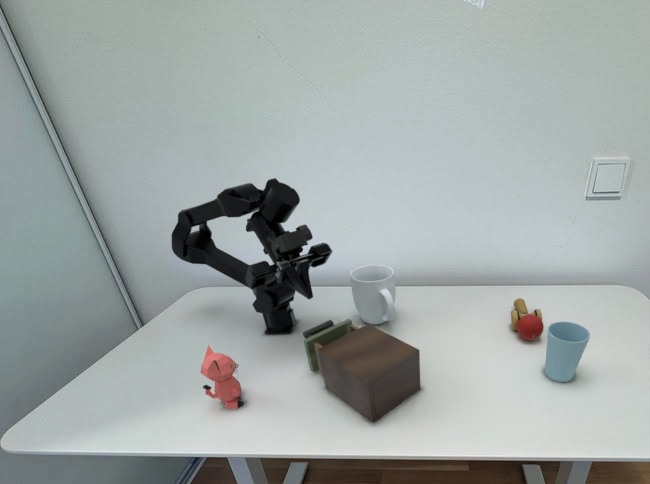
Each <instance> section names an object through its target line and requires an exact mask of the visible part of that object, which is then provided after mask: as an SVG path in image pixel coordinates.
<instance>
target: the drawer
mask: <svg viewBox="0 0 650 484" xmlns="http://www.w3.org/2000/svg"><path fill="white" fill-rule="evenodd" d="M359 328H360V327H359V326H357V325H355V324H353V320H352V319H350V318H346V319H345V320H343V321H341V322H338V323H336V324H335V323H334V321H333V320H332V319H329V320H326V321H325V322H322V323H320V324H318V325H316V326H313V327H311V328H309V329H307V330H305V331H303V332H302V337H303V345H304V349H305V353H306V357H307V362H308V364H309V371H310V372H312V373H316V372H318V371H319V374H321V375H322V376H323V372H322V367H321V362H320V357H319V352H318V349H319V348H321V347H323V346H325V345H327V344H329V343H331V342H333V341H335V340H337V339H339V338H341V337H343V336H345V335H347V334H349V333H351V332H353V331H355V330H357V329H359Z"/></svg>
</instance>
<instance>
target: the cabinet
mask: <svg viewBox="0 0 650 484" xmlns="http://www.w3.org/2000/svg"><path fill="white" fill-rule="evenodd" d="M318 352H319V357H320V362H321V367H322V372H323V375H322V376H323V380H324V385H325V386H324V387H325V389H326V390H328V391H329V392H331V393H332V394H333V395H335V396H336V397H337V398H338V399H340V400H341V401H342V402H344V404H346V405H347V406H349V407H350V408H352V409H353V410H354V411H356V412H357V413H358V414H360V415H361V416H363V418H365V419H366V420H368V421H369V422H371V423H372V424H374V423H375V422H377V421H378V420H380V419H381V418H383V417H384V416H386V415H387V414H388V413H390V412H391V411H393V410H394V409H395V408H396V407H398V406H399V405H401V404H402V403H403V402H405V401H406V400H408V399H409V398H410V397H412V396H413V395H414V394H416V393H417V392H419V391H420V390H421V361H420V360H421V359H420V357H421V356H420V355H421V354H420V349H419V348H416V347H415V346H413V345H411V344H409V343H407V342H405V341H403V340H401V339H399V338H397V337H395V336H393V335H392V334H390V333H388V332H386V331H384V330H382V329H380V328H378V327H376V326H374V325H373V324H368V323H366V324H365V325H363V326H361V327H359V329H357V330H355V331H353V332H351V333H349V334H347V335H345V336H343V337H341V338H339V339H337V340H335V341H333V342H331V343H329V344H327V345H325V346H323V347H321V348H319V349H318Z"/></svg>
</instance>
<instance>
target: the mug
mask: <svg viewBox="0 0 650 484" xmlns="http://www.w3.org/2000/svg"><path fill="white" fill-rule="evenodd" d="M395 279H396V277H395V271H394V269H393V268H392V267H390V266H388V265H386V264H378V263H377V264H375V263H372V264H364V265H361V266H357V267H355V268H354V269H351V271H350V272H349V280H350V281H349V282H350V288H351V294H352V299H353V303H354V305H355V306H354V307H355V308H356V312H357V313H358V315H359V317H360V319H362V320H363V321H364V322H365V323H366V324H370V325H381V324H385V323H386V322H391V321H394V320H395V318H396V307H395V304H396V280H395Z"/></svg>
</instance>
